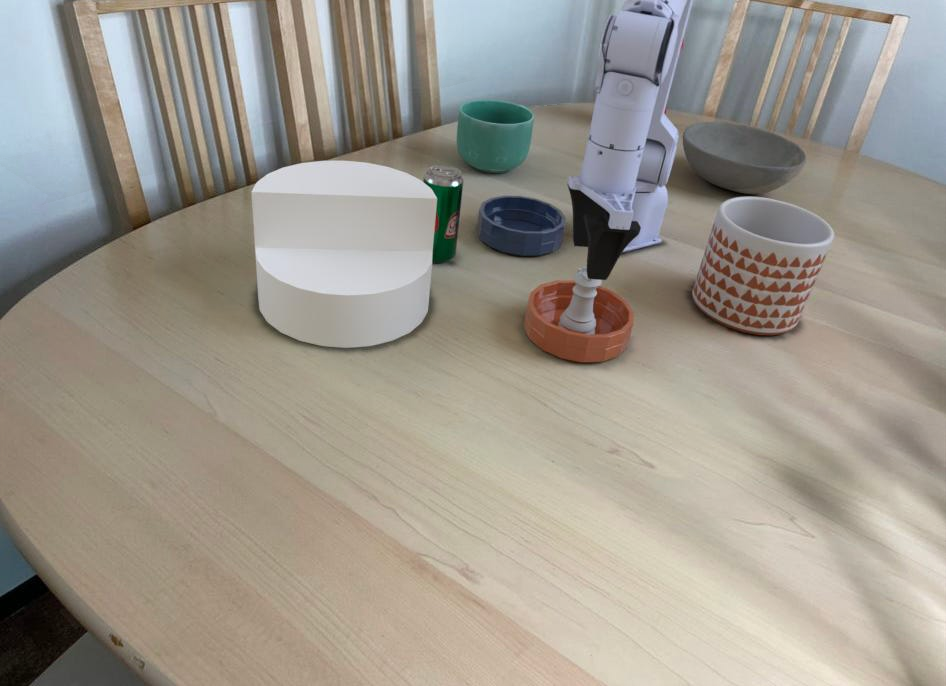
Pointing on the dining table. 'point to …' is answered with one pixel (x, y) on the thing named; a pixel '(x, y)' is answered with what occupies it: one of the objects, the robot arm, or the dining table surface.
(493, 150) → the mug
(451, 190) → the soda can
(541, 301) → the terracotta bowl
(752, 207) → the planter
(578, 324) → the rook chess piece
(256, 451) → the dining table surface
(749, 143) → the bowl
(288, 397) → the dining table surface
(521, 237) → the slate bowl
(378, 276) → the stepped white cylinder
